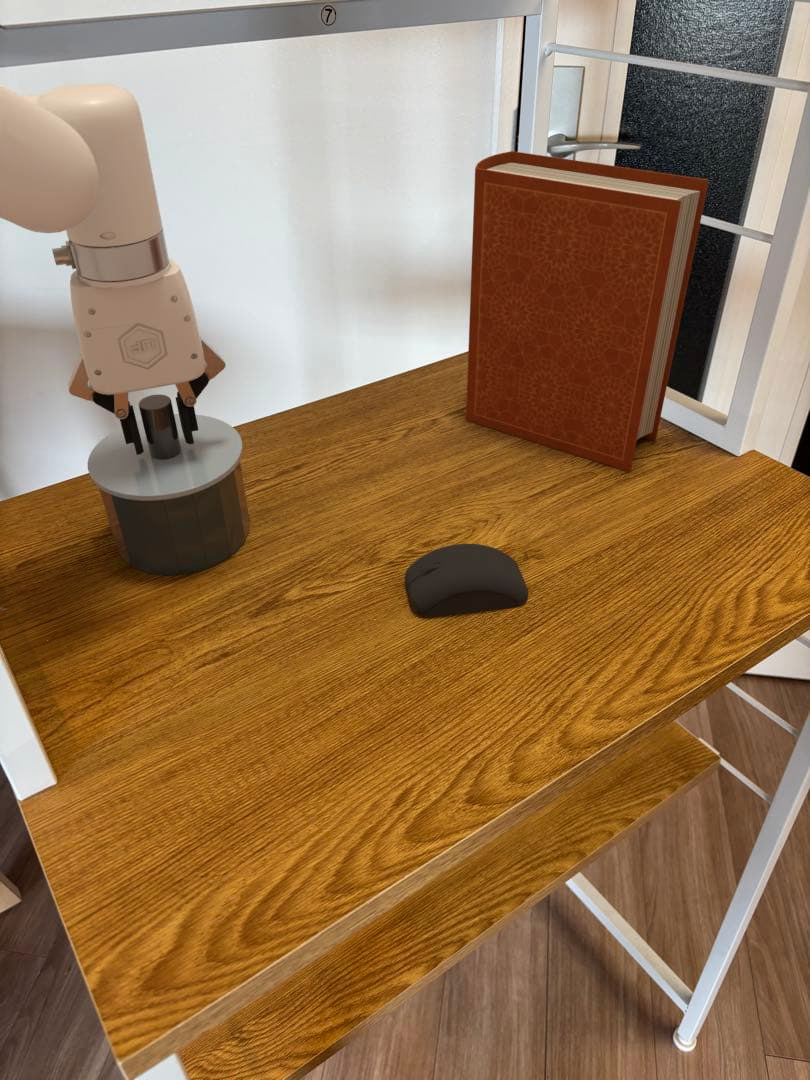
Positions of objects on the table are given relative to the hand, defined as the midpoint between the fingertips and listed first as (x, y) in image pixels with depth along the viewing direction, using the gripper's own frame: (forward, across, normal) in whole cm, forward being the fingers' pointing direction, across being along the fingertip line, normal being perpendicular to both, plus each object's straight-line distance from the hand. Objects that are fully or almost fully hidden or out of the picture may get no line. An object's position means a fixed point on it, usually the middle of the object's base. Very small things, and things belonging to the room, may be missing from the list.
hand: (163, 440), depth 80 cm
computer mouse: (+12, +24, -19) cm, 33 cm away
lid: (+2, 0, 0) cm, 2 cm away
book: (+12, +46, +4) cm, 48 cm away
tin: (+11, 0, 0) cm, 11 cm away
